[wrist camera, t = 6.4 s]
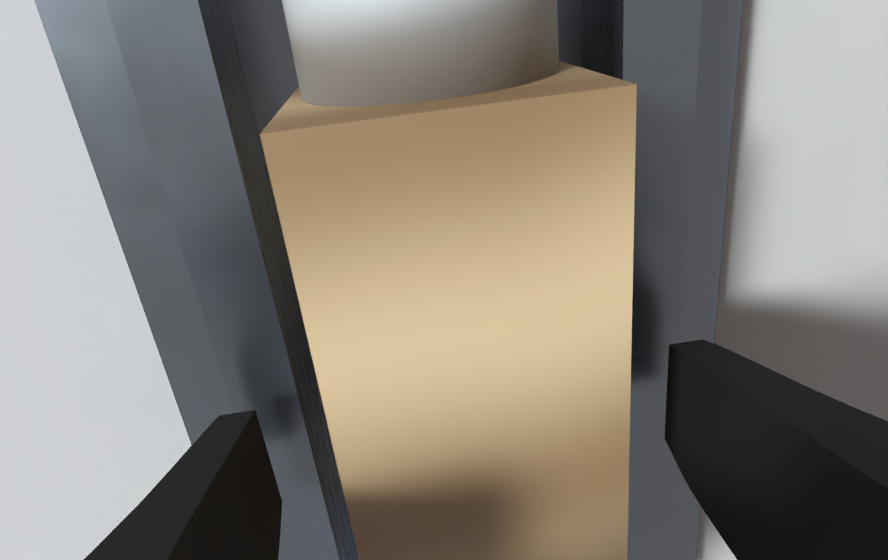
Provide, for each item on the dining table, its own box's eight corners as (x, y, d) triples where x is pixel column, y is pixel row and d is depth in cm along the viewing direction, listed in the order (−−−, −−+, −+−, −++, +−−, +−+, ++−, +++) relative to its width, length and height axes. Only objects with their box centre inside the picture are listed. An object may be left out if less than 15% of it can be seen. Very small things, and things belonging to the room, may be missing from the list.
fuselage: (551, 536, 16) (657, 844, 10) (399, 563, 16) (418, 893, 10) (520, -76, 10) (725, -182, 4) (279, -48, 10) (156, -121, 4)
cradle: (677, 554, 18) (731, 649, 16) (272, 626, 18) (255, 739, 15) (727, -180, 11) (846, -240, 8) (26, -104, 10) (-97, -143, 7)
